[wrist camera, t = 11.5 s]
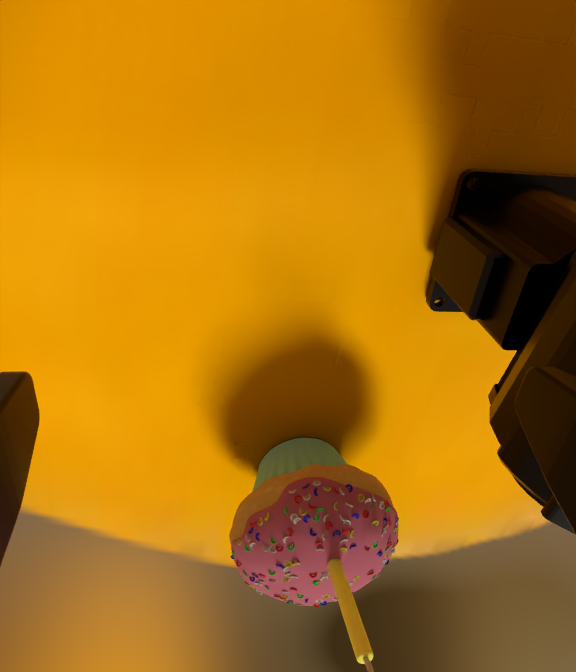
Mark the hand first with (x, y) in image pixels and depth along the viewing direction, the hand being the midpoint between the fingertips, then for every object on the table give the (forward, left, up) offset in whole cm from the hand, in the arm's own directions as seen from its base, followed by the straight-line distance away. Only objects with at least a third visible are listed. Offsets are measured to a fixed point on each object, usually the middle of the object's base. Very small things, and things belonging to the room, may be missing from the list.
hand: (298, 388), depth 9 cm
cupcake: (-4, +16, -13) cm, 21 cm away
